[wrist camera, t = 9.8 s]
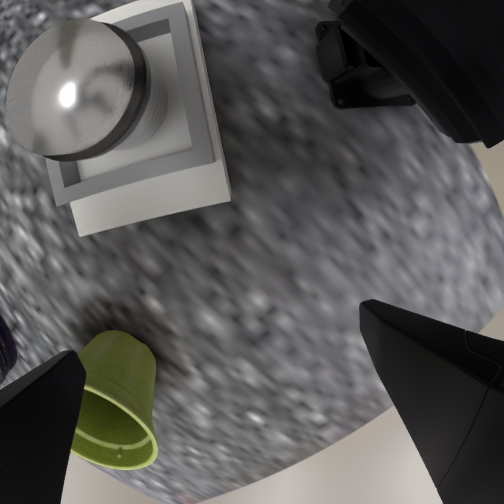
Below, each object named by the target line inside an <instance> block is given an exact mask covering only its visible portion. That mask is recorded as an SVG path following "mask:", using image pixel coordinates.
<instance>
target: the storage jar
mask: <svg viewBox="0 0 504 504" xmlns="http://www.w3.org/2000/svg"><path fill="white" fill-rule="evenodd" d="M16 360H17V349H16V345H15V342H14V339H13V336H12V334H11V332H10V330H9V328H8V326H7V324H6V323H5V321H4V320H3V318H2V317H1V315H0V385H1V384H2V382H3V381H4V379H5V377H6V375H7V374H8V372H9V371H10V370H11V369H12V368H13V367H14V365H15V363H16Z"/></svg>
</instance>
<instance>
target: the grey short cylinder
mask: <svg viewBox="0 0 504 504" xmlns="http://www.w3.org/2000/svg"><path fill="white" fill-rule="evenodd" d="M6 104H7V117H8V121H9V125H10V128H11V130H12V132H13V134H14V136H15V138H16V139H17V140H18V142H19V143H20V144H21V145H22V146H23V147H25V148H26V149H27V150H29V151H31V152H33V153H36V154H39V155H43V156H44V157H46V158H48V159H51V160H54V161H60V162H71V161H79V160H87V159H92V158H96V157H99V156H101V155H104V154H106V153H108V152H109V151H119V150H128V149H132V148H135V147H138V146H140V145H141V144H143V143H145V142H146V141H148V140H149V139H150V138H151V137H152V136H153V135H154V134H155V133H156V132H157V131H158V129H159V128H160V126H161V125H162V123H163V121H164V118H165V116H166V113H167V109H168V91H167V87H166V85H165V82H164V81H163V79H162V77H161V76H160V75H159V74H158V73H157V72H156V71H155V70H154V69H153V68H152V67H151V66H150V65H149V61H148V59H147V57H146V54H145V53H144V51H143V50H142V48H141V47H140V46H139V45H138V44H137V42H136V41H135V40H134V39H133V38H132V37H131V36H130V35H129V34H128V33H126V32H125V31H124V30H123V29H121V28H119V27H117V26H115V25H112V24H109V23H104V22H98V21H95V20H92V19H85V18H81V19H72V20H68V21H65V22H61V23H59V24H57V25H55V26H53V27H51V28H50V29H48V30H47V31H45V32H44V33H43V34H41V35H40V36H39V37H38V38H37V39H36V40H34V41H33V43H32V44H31V45H30V46H29V47H28V48H27V49H26V51H25V52H24V54H23V55H22V57H21V58H20V60H19V61H18V63H17V65H16V67H15V69H14V72H13V74H12V77H11V80H10V83H9V87H8V93H7V103H6Z"/></svg>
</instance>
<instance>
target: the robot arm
mask: <svg viewBox="0 0 504 504" xmlns="http://www.w3.org/2000/svg"><path fill="white" fill-rule="evenodd" d="M328 8H330V9H331V10H332V11H334V12H335V13H337V18H338V19H340V20H341V21H322V22H319V23H318V24H317V26H316V33H317V36H318V40H319V44H318V45H317V52H318V56H319V60H320V64H321V68H322V73H323V77H324V80H325V81H327V82H329V87H330V91H331V96H332V101H333V105H334V106H335V107H336V108H337V109H352V108H367V107H387V106H412V105H415V104H416V103H417V104H418V105H419V106H420V107H421V109H422V110H423V111H424V112H425V113H426V115H427V116H428V117H429V118H430V120H431V121H432V122H433V123H434V125H435V126H436V127H437V128H438V130H439V131H440V132H442V133H443V134H445V135H447V136H449V137H451V138H452V139H453V141H454V142H455V143H467V144H472V143H477V142H483V143H484V145H485V146H486V147H487V148H491V147H493V146H494V145H496V144H498V143H499V142H501V141H503V140H504V0H330V3H329V6H328ZM321 26H323V27H325V28H326V31H324V30H322V29H321ZM408 96H409V97H410V98H411V102H410V101H409V100H408ZM338 99H342V100H343V105H340V104H339V103H338ZM359 312H360V331H361V334H362V337H363V339H364V341H365V344H366V346H367V349H368V351H369V354H370V356H371V359H372V361H373V364H374V366H375V369H376V371H377V373H378V375H379V377H380V379H381V381H382V383H383V385H384V387H385V389H386V390H387V392H388V394H389V396H390V398H391V400H392V402H393V403H394V405H395V407H396V409H397V411H398V413H399V415H400V417H401V419H402V420H403V422H404V424H405V426H406V428H407V430H408V432H409V434H410V436H411V438H412V440H413V442H414V444H415V446H416V448H417V450H418V452H419V454H420V456H421V458H422V460H423V462H424V464H425V466H426V468H427V470H428V472H429V474H430V476H431V478H432V480H433V483H434V485H435V487H436V488H437V491H438V494H439V496H440V498H441V500H442V502H443V504H504V341H501V340H497V339H493V338H490V337H487V336H483V335H480V334H477V333H474V332H471V331H468V330H467V331H465V329H462V328H459V327H456V326H453V325H450V324H447V323H444V322H441V321H438V320H435V319H432V318H429V317H426V316H423V315H420V314H417V313H414V312H411V311H408V310H405V309H402V308H399V307H396V306H393V305H390V304H387V303H384V302H381V301H378V300H375V299H370V300H367V301H363V302H361V303H360V306H359ZM85 382H86V370H85V368H84V366H83V364H82V362H81V361H80V359H79V357H78V355H77V353H76V352H75V351H73V350H66V351H62V352H61V353H59V354H57V355H56V356H54V357H52V358H51V359H49V360H48V361H46V362H44V363H43V364H41V365H40V366H38V367H36V368H35V369H33V370H31V371H30V372H28V373H27V374H25V375H23V376H22V377H20V378H19V379H17V380H15V381H14V382H12V383H11V384H9V385H7V386H6V387H4V388H3V389H1V390H0V504H60V503H61V497H62V491H63V486H64V480H65V475H66V470H67V465H68V461H69V455H70V451H71V447H72V443H73V439H74V434H75V430H76V426H77V423H78V419H79V415H80V410H81V404H82V398H83V392H84V387H85Z"/></svg>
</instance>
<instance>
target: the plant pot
mask: <svg viewBox="0 0 504 504" xmlns="http://www.w3.org/2000/svg"><path fill="white" fill-rule="evenodd" d="M77 355H78V357H79V359H80V361H81V362H82V364H83V366H84V368H85V370H86V382H85V387H84V392H83V398H82V404H81V410H80V415H79V419H78V423H77V426H76V430H75V434H74V439H73V443H72V447H71V452H73V453H74V454H76V455H77V456H80V457H81V458H83V459H85V460H88V461H90V462H92V463H95V464H98V465H101V466H105V467H108V468H113V469H120V470H134V469H139V468H143V467H145V466H148V465H150V464H151V463H152V462H153V461H154V460H155V459H156V457H157V455H158V441H157V438H156V436H155V434H154V426H153V422H152V408H153V396H154V386H155V377H156V361H155V358H154V356H153V354H152V352H151V350H150V349H149V348H148V347H147V346H146V345H145V344H144V343H141V342H140V341H138V340H136V339H135V338H134V337H133V336H131V335H130V334H129V333H126V332H123V331H118V330H108V331H104V332H101V333H99V334H98V335H96V336H95V337H94V338H93V339H92V340H91V341H90V342H89V343H88V344H87V345H86V346H85V347H84V349H83V350H81V351H80V352H79V353H78V354H77Z"/></svg>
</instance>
